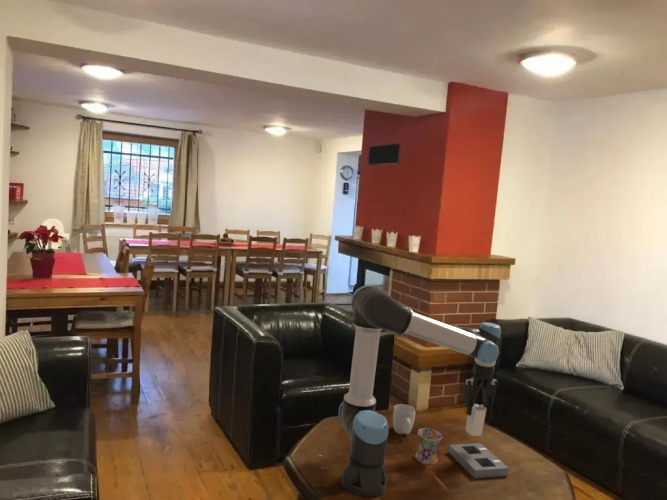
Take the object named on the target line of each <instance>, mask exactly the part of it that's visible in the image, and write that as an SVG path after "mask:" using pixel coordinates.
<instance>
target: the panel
mask: <svg viewBox="0 0 667 500" xmlns="http://www.w3.org/2000/svg"><path fill="white" fill-rule="evenodd" d="M448 453H449V455H451V456H452V457H453V458H454V460H456V461H457V463H458V464H459V465H460V466H461V467H463V469H465V471H466V472H467V473H469V475H470V476H471V477H472V478H473V479H482V478H496V477H497V478H499V477H508V474H509V470H510V469H509V468H510V467H508V466H507V465H506V464H505V463H504V462H503V461H502V460H500V459H499V458H498V457H497V456H496V455H495V454H493V452H491V450H489V449H488V448H487V447H486V446H484V445H483V444H482V443H479V442H477V443H461V444H449V448H448Z"/></svg>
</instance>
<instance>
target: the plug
mask: <svg viewBox="0 0 667 500" xmlns="http://www.w3.org/2000/svg"><path fill="white" fill-rule="evenodd" d="M473 407H474V408H475V410H474V416H473V422H472V425H470V424H469V423H468V422H467V421H466V424H465V432H466V433H468V435H470V436H471V437H480V436H483V432H484V431H483V430H484V424H485V420H484V419H485V418H486V415H485V413H486V410H484V409H483V408H482V407H481V404H480V405H479V404H478V403H474V406H473Z"/></svg>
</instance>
